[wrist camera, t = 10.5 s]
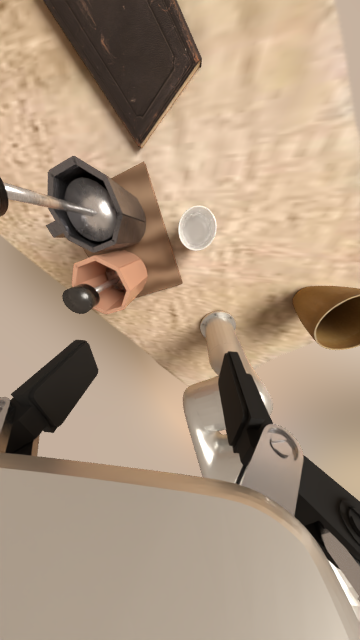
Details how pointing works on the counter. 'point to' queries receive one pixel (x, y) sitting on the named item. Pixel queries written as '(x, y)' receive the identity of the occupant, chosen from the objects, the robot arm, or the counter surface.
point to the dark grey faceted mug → (126, 204)
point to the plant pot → (330, 315)
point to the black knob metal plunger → (90, 293)
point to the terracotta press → (95, 275)
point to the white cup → (197, 228)
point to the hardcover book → (132, 54)
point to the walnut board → (149, 234)
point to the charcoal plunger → (72, 206)
